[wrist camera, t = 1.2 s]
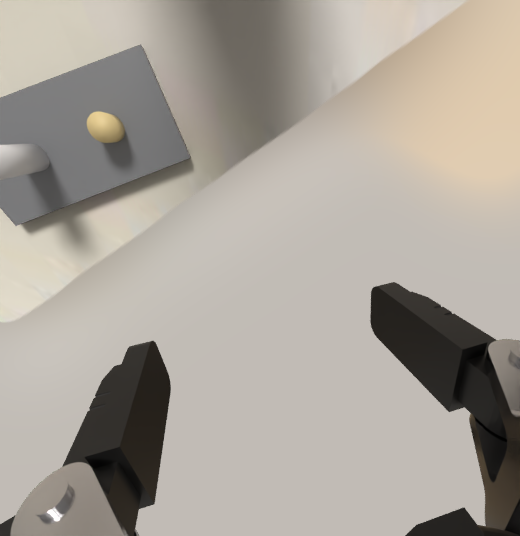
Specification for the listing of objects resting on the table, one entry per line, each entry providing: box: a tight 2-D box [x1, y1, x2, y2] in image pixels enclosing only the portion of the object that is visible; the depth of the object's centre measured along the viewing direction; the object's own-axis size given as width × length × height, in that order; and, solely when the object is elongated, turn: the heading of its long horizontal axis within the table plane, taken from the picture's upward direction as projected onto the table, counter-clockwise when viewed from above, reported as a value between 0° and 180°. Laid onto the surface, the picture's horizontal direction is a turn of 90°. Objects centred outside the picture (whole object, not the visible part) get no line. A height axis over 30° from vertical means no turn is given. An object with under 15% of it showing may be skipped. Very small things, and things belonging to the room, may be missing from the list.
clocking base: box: [0, 44, 190, 226], centre depth 18 cm, size 8×16×7 cm, turn 109°
